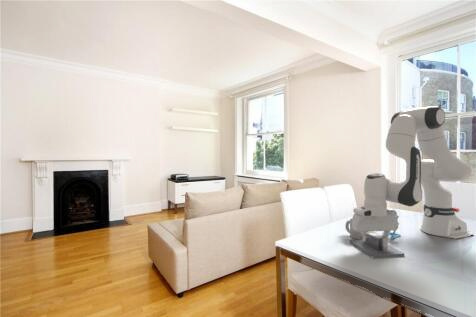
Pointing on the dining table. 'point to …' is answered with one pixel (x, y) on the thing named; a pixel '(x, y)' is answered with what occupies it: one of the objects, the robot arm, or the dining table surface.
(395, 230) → the chair
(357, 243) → the grey peg base
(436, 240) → the dining table surface
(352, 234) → the cup
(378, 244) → the block
